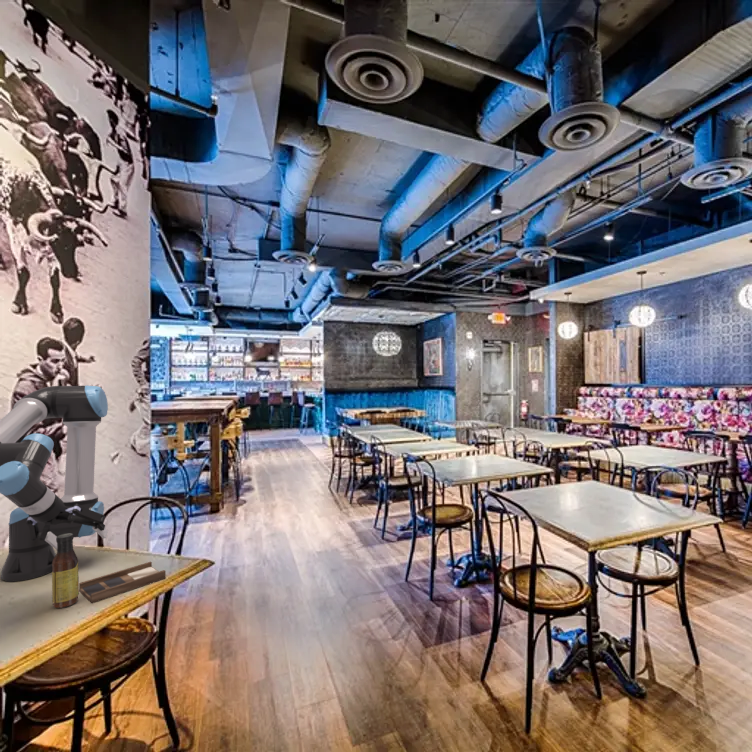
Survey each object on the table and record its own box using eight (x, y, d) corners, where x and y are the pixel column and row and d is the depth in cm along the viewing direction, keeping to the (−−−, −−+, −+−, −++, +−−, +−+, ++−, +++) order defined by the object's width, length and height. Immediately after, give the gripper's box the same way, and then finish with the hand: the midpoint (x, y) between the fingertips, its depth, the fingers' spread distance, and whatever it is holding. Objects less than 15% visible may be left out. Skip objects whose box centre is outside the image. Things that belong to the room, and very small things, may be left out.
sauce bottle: (83, 600, 123) (85, 532, 124) (62, 610, 117) (64, 540, 118) (67, 597, 125) (68, 530, 126) (45, 607, 119) (47, 538, 120)
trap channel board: (79, 591, 129) (79, 583, 129) (150, 568, 145) (150, 561, 145) (91, 603, 121) (91, 595, 121) (165, 578, 137) (165, 570, 137)
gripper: (-13, 527, 112) (36, 562, 126) (84, 504, 115) (121, 540, 129) (-1, 503, 117) (45, 539, 131) (91, 482, 120) (126, 519, 135)
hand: (83, 540), depth 130 cm, fingers open, 13 cm apart
